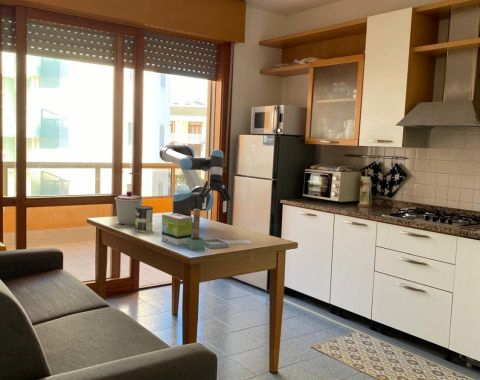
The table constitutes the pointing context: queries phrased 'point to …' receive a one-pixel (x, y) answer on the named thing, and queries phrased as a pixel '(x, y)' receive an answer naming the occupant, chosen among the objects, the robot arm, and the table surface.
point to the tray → (215, 243)
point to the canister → (127, 207)
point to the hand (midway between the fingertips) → (214, 210)
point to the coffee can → (143, 218)
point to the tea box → (176, 228)
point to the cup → (195, 243)
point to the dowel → (196, 224)
